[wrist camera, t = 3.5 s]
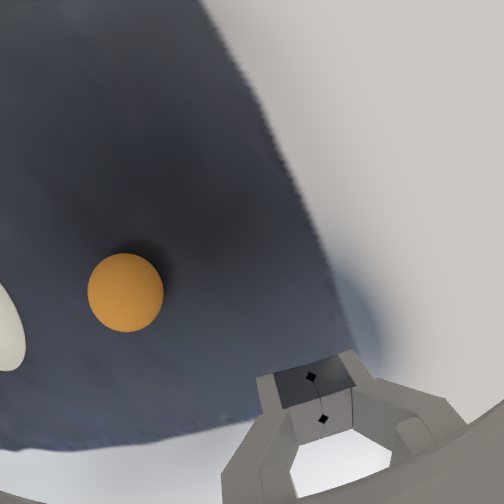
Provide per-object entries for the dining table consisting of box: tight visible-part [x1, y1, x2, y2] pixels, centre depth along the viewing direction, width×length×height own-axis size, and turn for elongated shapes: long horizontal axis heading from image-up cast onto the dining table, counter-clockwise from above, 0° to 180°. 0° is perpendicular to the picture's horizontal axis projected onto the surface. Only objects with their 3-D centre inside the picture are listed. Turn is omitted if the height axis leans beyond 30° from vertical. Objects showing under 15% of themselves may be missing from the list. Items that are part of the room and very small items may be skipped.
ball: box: [88, 253, 163, 332], centre depth 20 cm, size 6×6×6 cm
